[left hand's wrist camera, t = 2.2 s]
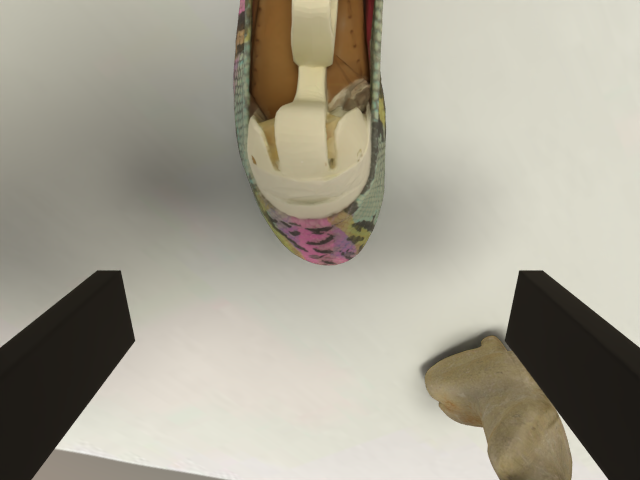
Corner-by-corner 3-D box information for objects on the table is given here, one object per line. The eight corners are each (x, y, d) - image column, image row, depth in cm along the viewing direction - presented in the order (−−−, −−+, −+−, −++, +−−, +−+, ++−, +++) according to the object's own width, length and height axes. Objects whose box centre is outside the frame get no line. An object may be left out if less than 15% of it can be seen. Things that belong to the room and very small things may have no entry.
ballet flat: (251, 255, 26) (224, 328, 18) (216, -238, 17) (131, -523, 9) (373, 254, 26) (400, 327, 18) (402, -236, 17) (477, -515, 9)
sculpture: (409, 360, 29) (495, 606, 15) (495, 314, 28) (675, 539, 14) (445, 408, 31) (550, 666, 17) (527, 367, 30) (715, 612, 16)
